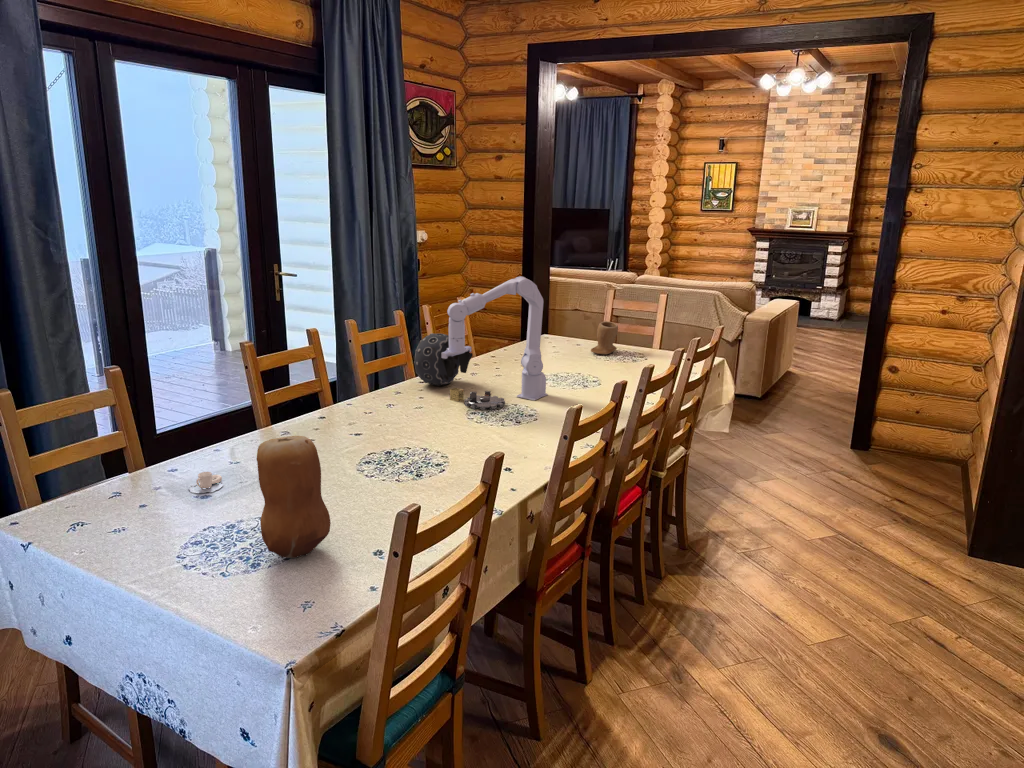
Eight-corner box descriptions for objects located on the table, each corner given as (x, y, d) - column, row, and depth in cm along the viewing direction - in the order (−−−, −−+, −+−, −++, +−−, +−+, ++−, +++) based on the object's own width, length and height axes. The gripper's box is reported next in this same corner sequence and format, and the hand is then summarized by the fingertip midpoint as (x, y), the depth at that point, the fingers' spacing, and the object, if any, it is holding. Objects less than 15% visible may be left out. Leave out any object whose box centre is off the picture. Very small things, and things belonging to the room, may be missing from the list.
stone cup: (610, 357, 321) (612, 325, 317) (587, 354, 327) (588, 322, 323) (623, 351, 334) (624, 321, 330) (600, 348, 340) (601, 318, 336)
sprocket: (458, 400, 248) (458, 388, 247) (494, 396, 254) (494, 383, 253) (474, 411, 236) (474, 398, 234) (512, 406, 242) (512, 393, 241)
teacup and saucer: (216, 479, 178) (215, 464, 177) (232, 487, 173) (231, 472, 172) (182, 489, 172) (181, 474, 171) (198, 498, 167) (196, 483, 166)
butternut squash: (288, 533, 150) (280, 423, 143) (343, 542, 146) (338, 431, 140) (247, 564, 137) (236, 445, 131) (306, 575, 133) (298, 454, 127)
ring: (412, 388, 264) (411, 336, 259) (440, 377, 281) (440, 328, 276) (435, 392, 259) (435, 340, 254) (463, 380, 276) (463, 331, 271)
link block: (450, 400, 250) (449, 389, 249) (455, 398, 252) (455, 387, 251) (458, 401, 248) (458, 391, 247) (463, 400, 250) (463, 389, 249)
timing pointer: (490, 398, 253) (490, 391, 252) (484, 398, 253) (484, 391, 252) (490, 397, 254) (490, 391, 253) (485, 397, 254) (485, 391, 253)
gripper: (460, 333, 252) (460, 369, 256) (434, 339, 240) (435, 376, 244) (476, 335, 248) (475, 372, 252) (450, 341, 237) (450, 380, 240)
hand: (456, 374), depth 248 cm, fingers open, 7 cm apart
